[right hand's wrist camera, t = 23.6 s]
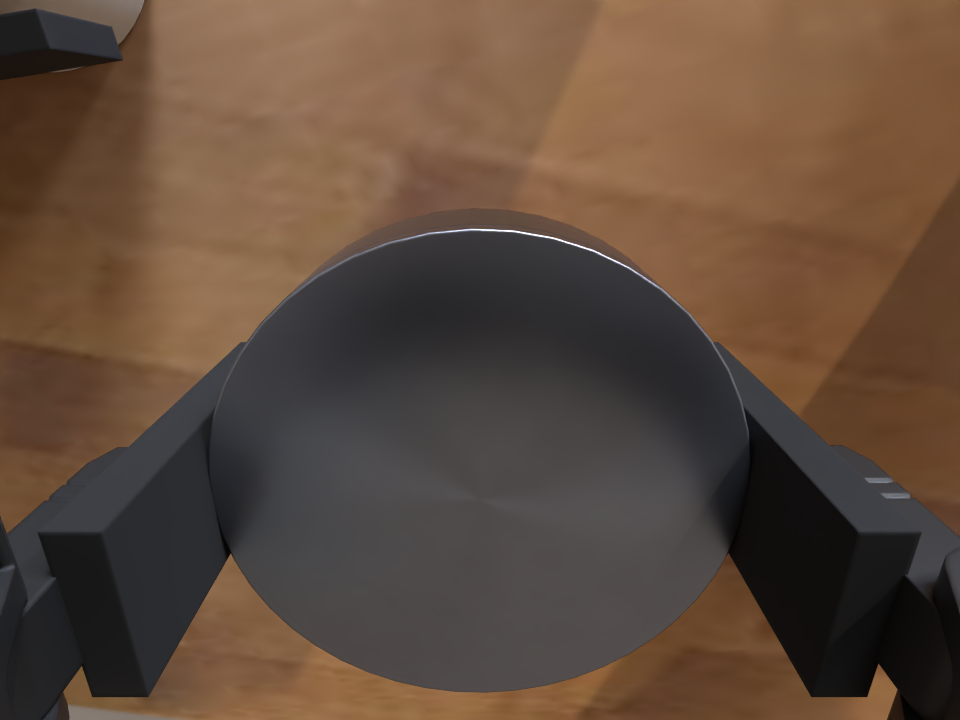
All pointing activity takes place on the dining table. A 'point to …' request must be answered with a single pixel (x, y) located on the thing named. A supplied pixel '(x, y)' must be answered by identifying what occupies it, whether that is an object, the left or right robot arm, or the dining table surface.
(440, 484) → the lid
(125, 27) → the jar
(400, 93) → the dining table surface
